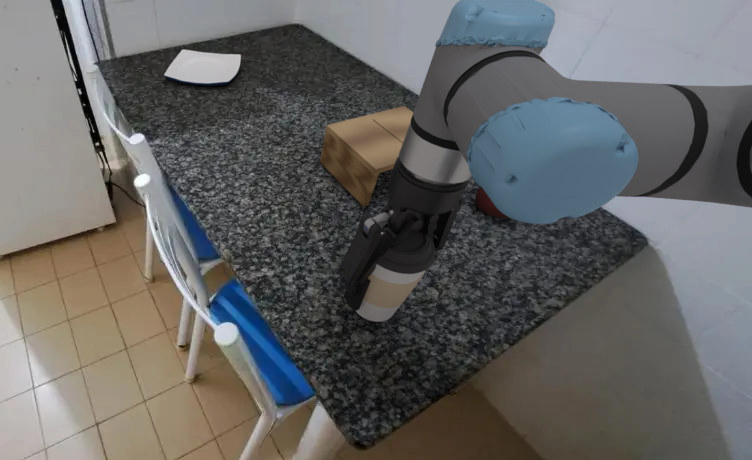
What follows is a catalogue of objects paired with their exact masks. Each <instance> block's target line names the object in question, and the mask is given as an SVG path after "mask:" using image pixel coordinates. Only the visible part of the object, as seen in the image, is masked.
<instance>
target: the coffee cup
mask: <svg viewBox="0 0 752 460" xmlns="http://www.w3.org/2000/svg"><path fill="white" fill-rule="evenodd" d="M387 228H388V229H389V230H390V231H391V232H392V233H393V234H394V235H395V236H397V235H396V234H395V233H394V232H393V231H392V230H391V229H390V228H389V227H388V225H387ZM435 251H436V249H435V248H434V244H433V241H432V239H431V238H429V235H424V234H422V233H421V232H420V231H416V232H411V233H410V234H409V235H408V236H407V237H406V239H405V240H404V241H403V242H402V243H401V245H399V246H394V247H393V248H389V249H388V250H387V252H386V253H385V254H384V255H383V256H381V257H379V260H378V261H377V262H376V264H377V265H376V268H375V270H374V271H373V273H372V274H371V275H370V276H369V277H368V279H369V280H370V281H371V282H370V284H369V287H368V289H367V292H366V294H365V296H364V299H363V301H362V304H361V306H360V308H359V310H356V311H355V312H356V313H357V314H358V316H360V317H362V318H363V319H365V320H367V321H371V322H375V323H376V322H377V323H379V322H381V323H382V322H386V321H388V320H389V319H391V318H392V317H393V316H394V314H396V312H397V310H398V309H399V308H400V306H401V305H402V304H403V303H404V302H405V301H406V300H407V298H408V297H409V296H410V295H411V293H412V292H413V290H414V289H415V288H416V286H417V285H418V284H419V282H420V281H421V280H422V278H423V277H424V275H425V273H426V270H428V269H429V268H430V267H431V266H432V265H433V264H434V262H435V259H434V258H435V254H436V253H435Z"/></svg>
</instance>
